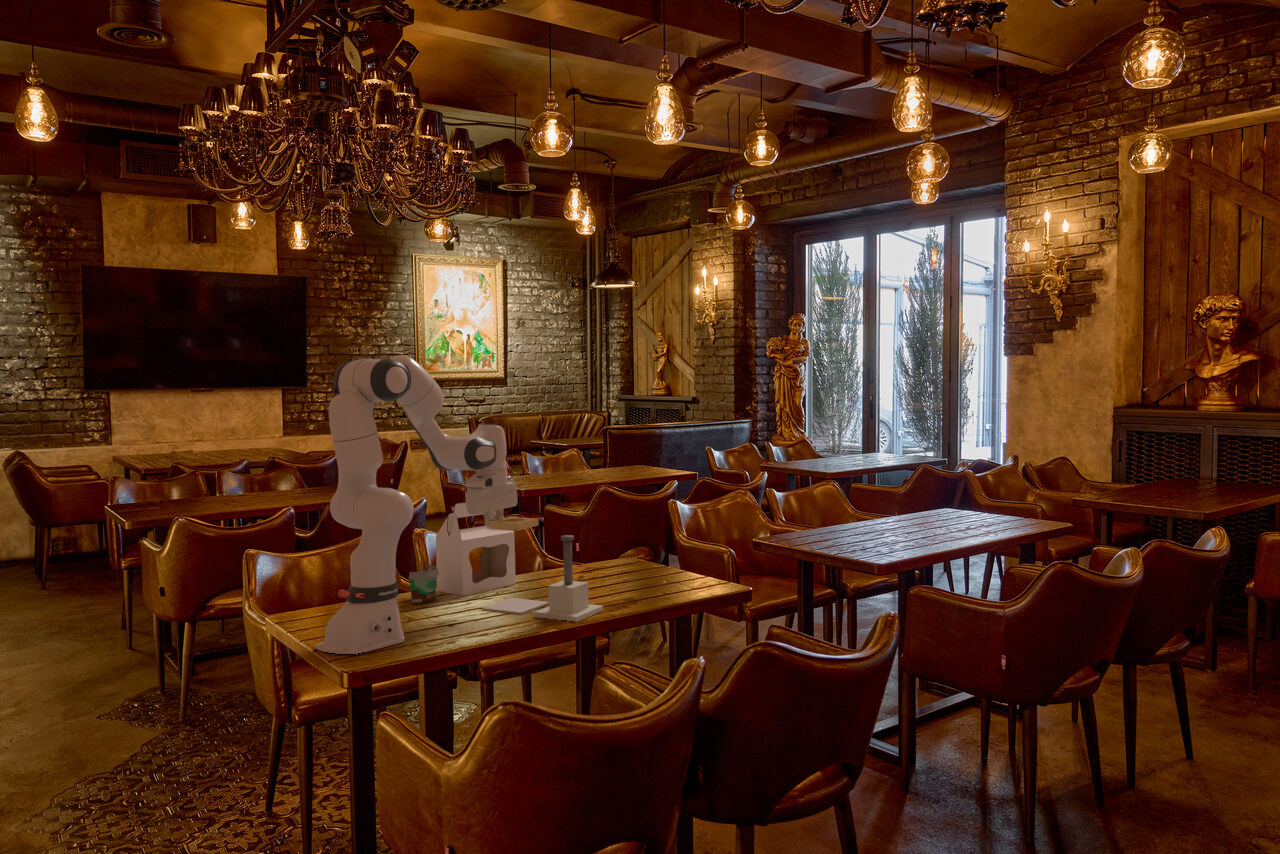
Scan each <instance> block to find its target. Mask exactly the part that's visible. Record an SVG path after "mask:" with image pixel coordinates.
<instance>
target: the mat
mask: <svg viewBox="0 0 1280 854" xmlns="http://www.w3.org/2000/svg"><path fill="white" fill-rule="evenodd" d="M545 605H546V606H547V605H548V606H549V601H543V600H542V601H541V600H537V599H525V598H517V597H516V598H515V597H509V598H506V599H504V600H503V599H502V600H501V601H498V602H495V603H492V604H489V605H487V606H483V607H481V610H482V611H489V612H496V613H505V614H514V615H524V614H527V613H530V612H532V611H536V610H537V609H538V610H539V609H540V608H541V609H542V607H545Z"/></svg>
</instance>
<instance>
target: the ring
mask: <svg viewBox="0 0 1280 854" xmlns="http://www.w3.org/2000/svg"><path fill="white" fill-rule="evenodd" d="M492 520H494V521H491V522H490V529H503V530H514V531H521V530H526V529H530V528H534V527H537V526H539V518H533V517H518V516H517V517H514V516H513V517H512V516H509V517H505V518H504V519H495V518H492ZM484 526H486V520H485V519H484Z"/></svg>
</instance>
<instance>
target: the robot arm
mask: <svg viewBox="0 0 1280 854" xmlns="http://www.w3.org/2000/svg"><path fill="white" fill-rule="evenodd" d="M332 380H333V381H332V384H333V385H332V386H333V394H334V395H333V396H334V397H332V398H331V400H330V402H329V405H328V419H329V420H328V421H329V428H330V435H331V441H332V444H333V448H334V453H335V457H336V463H337V469H338V481H337V488H336V491H335V493H334V494H333V496H332V497H331V500H330V503H329V511H330V514H331V518H332V519H334V521H335V522H337V523H339V524H341V525H343V526H345V527H346V528H351V529H358V530H361V537H360V539H359V540H360V541H359V544H358V545H357V547H356V548H355V549H354V550H352V552H351V554H350V558H349V561H350V585H349V588H348V590H347V589H343V588H342V589H339V590H338V592H337V596H338V597H339V598H344V599H345V603H344V604H343V605H342V606H341V607H340V608H339V609H338V611H337V612H336V613H335V614H334V616H332V617H331V618H330V619H329V621H328V622H327V623H326V626H325V636H324V641H321V642H319V643H316V644H315V647H314V648H316V649H318V650H321V651H325V652H329V653H337V654H356V655H359V654H358V653H360V654H363V653H362V652H364V653H366V652H370V651H374V650H378V649H382V648H385V647H389V646H393V645H398V644H400V643H404V642H405V633H404V629H403V626H402V621H401V614H400V608H399V604H398V596H399V584H398V583H399V582H398V581H397V579H396V578H397V577H396V576H397V575H396V574H397V573H396V572H397V571H396V569H397V568H396V557H397V548H398V543H399V540H400V538H401V535H402V533H403V531H404V530H405V529H406V527H407V526H408V525H409V524H410V523H411V521H412V520H413V516H414V509H415V508H414V503H413V500H412V499H411V497H410V496H409V495H408V494H406V493H404V492H402V491H400V490H397V489H394V488H391V487H378V485H377V472H378V469H379V468H380V467H381V466H382V464H383V463H384V455H383V451H382V450H383V449H382V446H381V440H380V437H379V432H378V428H377V427H378V426H377V424H376V419H375V416H374V407H375V405H376V404H375V403H380V402H392V401H395V400H396V401H397V402H398V404H400V406H401V407H402V408H403V409H404V412H405V415H406V419H407V420H408V422H409V424H410V425H411V426H412V428H413V430H414V432H415V433H416V434H417V435H418V437H419V438H420V440H421V441H422V443H423V444H424V446H425V447H426V449H427V451H428V453H429V456H430V458H431V461H432V462H433V464H434V466H435V468H438V469H439V470H441V471H476V473H474V474H473V475H472V476H471V477H470V478H468V479H466V481H465V487H466V488H467V490H466V493H465V499H466V500H465V501H466V507H467V511H468V513H469V514H481V513H483V514H481V515H482V516H483V517H484V521H485V520H486V526H487V527H490V522H491V521H494V520H492V518H491V515H492V511H495V512H496V516H495V519H501V518H502V515H504V509H507V508H509V509H510V508H512V507H516V506H517V505H518V502H519V501H518V492H517V487H516V484H515V480H514V478H513V477H512V476H511V475H508V467H507V466H508V465H507V464H506V463H507V462H506V458H507V454H508V452H507V440H506V434H505V430H504V428H503V427H502V426H501V425H497V424H493V423H481V424H478V425H477V428H476V429H475V430H474V431H473V432H471V433H470V434H468V435H467V436H453V435H449V434H446V433H444V431H443V430H442V429H441V427H440V426H439V425H438V422H436V420H435V417H436V416H437V415H438V414H439V413H440V411H441V409H442V407H443V404H444V401H445V400H444V399H445V398H444V397H445V395H444V392H443V391H442V389H441V386H440V385H439V384H438V383H437V382H436V380H435V379H434V378H433V376H432V375H431V374H429V372H428V371H427V370H426V369H425V368H424V367H423V365H421V364H419V363H418V362H417V361H416V360H415V359H414V358H412V357H411V356H410V355H409V356H408V355H405V354H400V355H396V356H393V357H392V358H383V359H380V358H379V359H378V358H370V357H369V358H361V359H357V360H356V359H352V360H348V361H346V362H343V363H341V364H340V365H339V366H337V368H336V369H335V372H334V374H333V379H332ZM316 649H315V650H316ZM318 650H317V651H318ZM329 653H328V654H329ZM337 654H336V655H337Z"/></svg>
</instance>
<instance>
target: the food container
mask: <svg viewBox="0 0 1280 854" xmlns="http://www.w3.org/2000/svg"><path fill="white" fill-rule="evenodd" d="M437 575H439V572H438V569H437V565H433V564H432V565H431V564H430V565H429V564H425V568H423V569H417V570H416V571H409V575H408V580H409V584H410V587H409V588H410V597H411V605H412V606H420V605H428V604H432V603H434V602H436V598H437V597H436V595H437Z"/></svg>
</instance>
